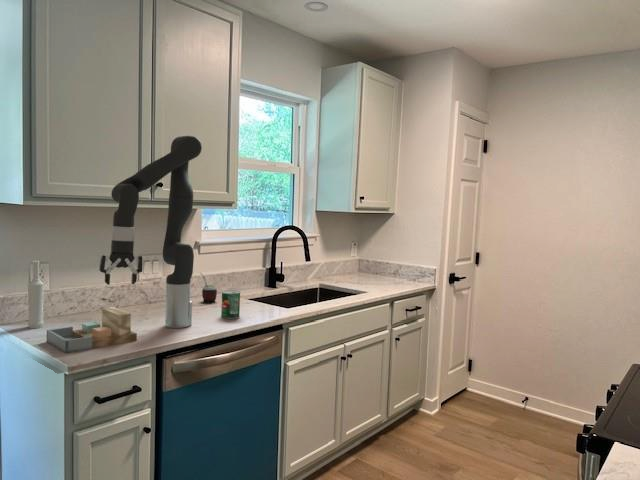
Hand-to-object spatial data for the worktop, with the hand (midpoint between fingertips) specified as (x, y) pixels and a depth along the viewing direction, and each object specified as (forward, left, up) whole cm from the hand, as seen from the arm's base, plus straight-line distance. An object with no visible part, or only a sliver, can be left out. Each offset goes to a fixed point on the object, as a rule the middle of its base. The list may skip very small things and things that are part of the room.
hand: (120, 284), depth 179 cm
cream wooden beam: (+2, +1, -16) cm, 17 cm away
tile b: (+9, +5, -16) cm, 19 cm away
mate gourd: (-60, -31, -19) cm, 70 cm away
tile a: (+9, -4, -16) cm, 19 cm away
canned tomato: (-50, 0, -19) cm, 53 cm away
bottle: (+18, -30, -19) cm, 40 cm away
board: (+6, +1, -19) cm, 20 cm away
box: (+18, +1, -19) cm, 26 cm away
